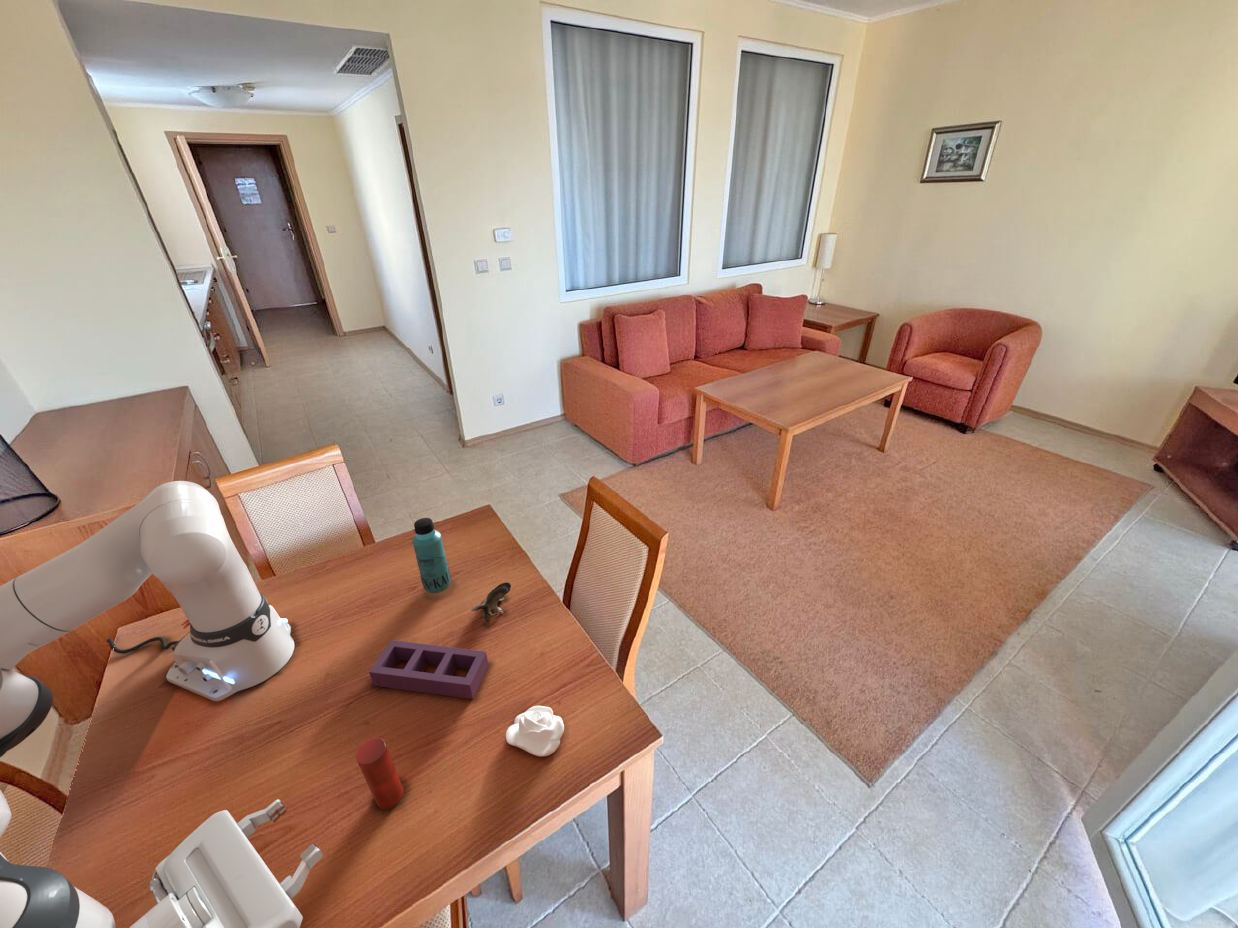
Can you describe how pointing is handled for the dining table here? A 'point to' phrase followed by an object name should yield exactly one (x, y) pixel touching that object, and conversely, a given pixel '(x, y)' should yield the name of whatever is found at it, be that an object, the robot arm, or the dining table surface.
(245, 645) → the robot arm
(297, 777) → the dining table surface
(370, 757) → the red peg
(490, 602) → the eagle figurine
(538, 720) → the rose
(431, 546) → the beverage bottle
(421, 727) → the dining table surface
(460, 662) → the peg board
